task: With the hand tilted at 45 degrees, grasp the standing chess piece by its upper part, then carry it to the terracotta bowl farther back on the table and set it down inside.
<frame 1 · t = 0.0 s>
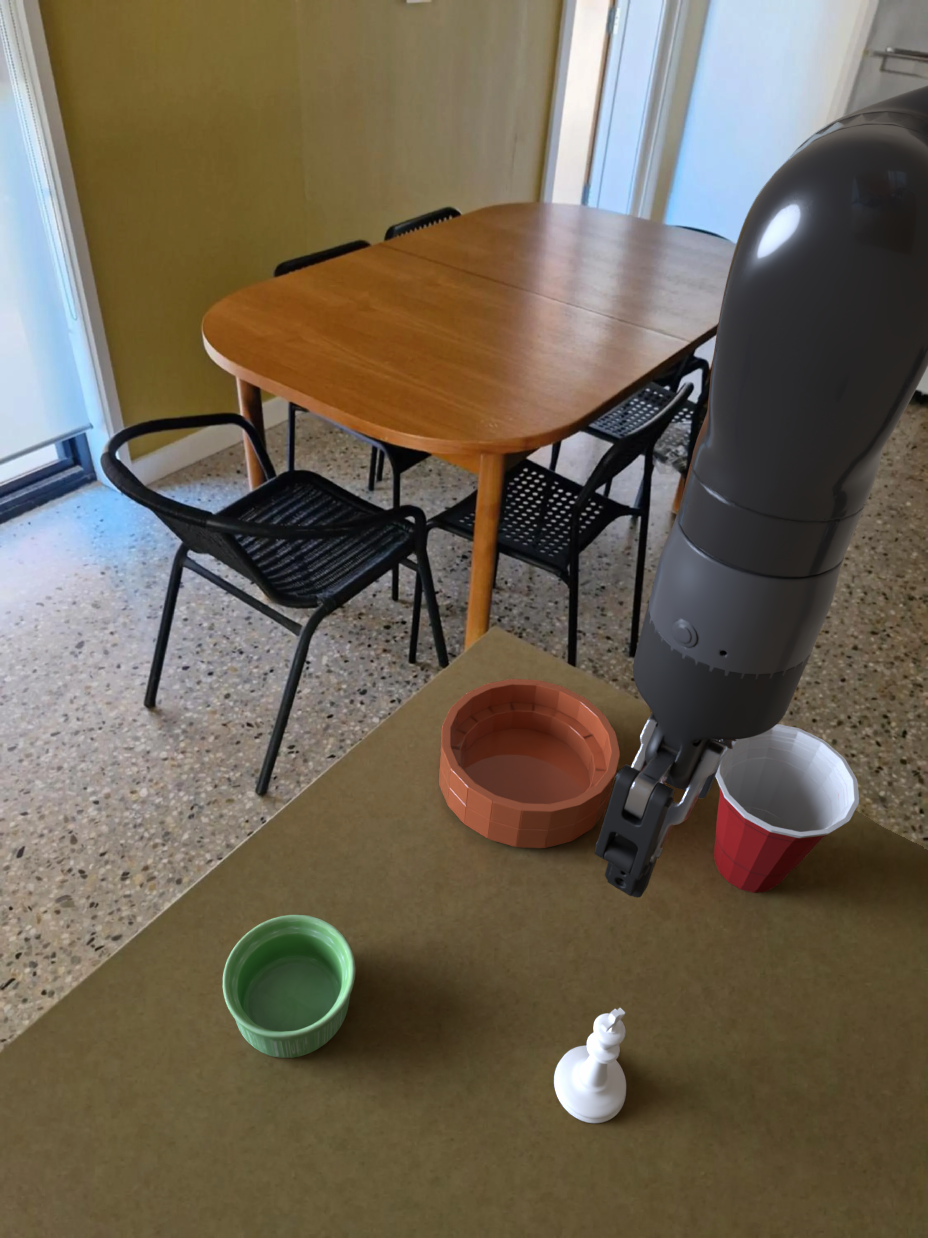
hand: (658, 834, 51), 22 cm above the counter, tool pointing down, fingers open, 8 cm apart
plastic cup: (745, 867, 76), on the counter
ramekin: (293, 1005, 64), on the counter
bowl: (523, 781, 81), on the counter
chess piece: (589, 1086, 61), on the counter
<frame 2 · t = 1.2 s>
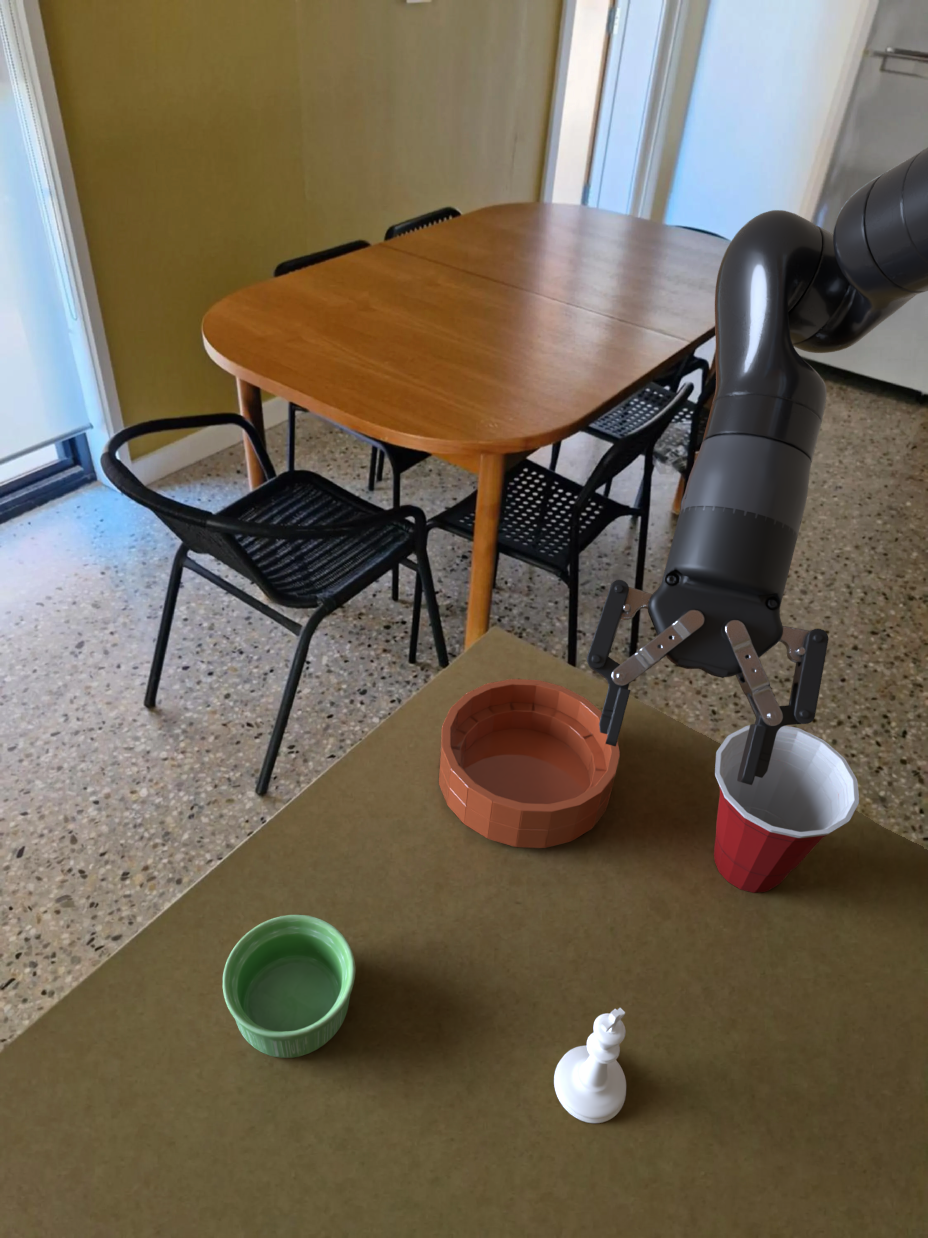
hand: (676, 764, 56), 21 cm above the counter, tool tilted 45°, fingers open, 8 cm apart
nothing on the counter moved.
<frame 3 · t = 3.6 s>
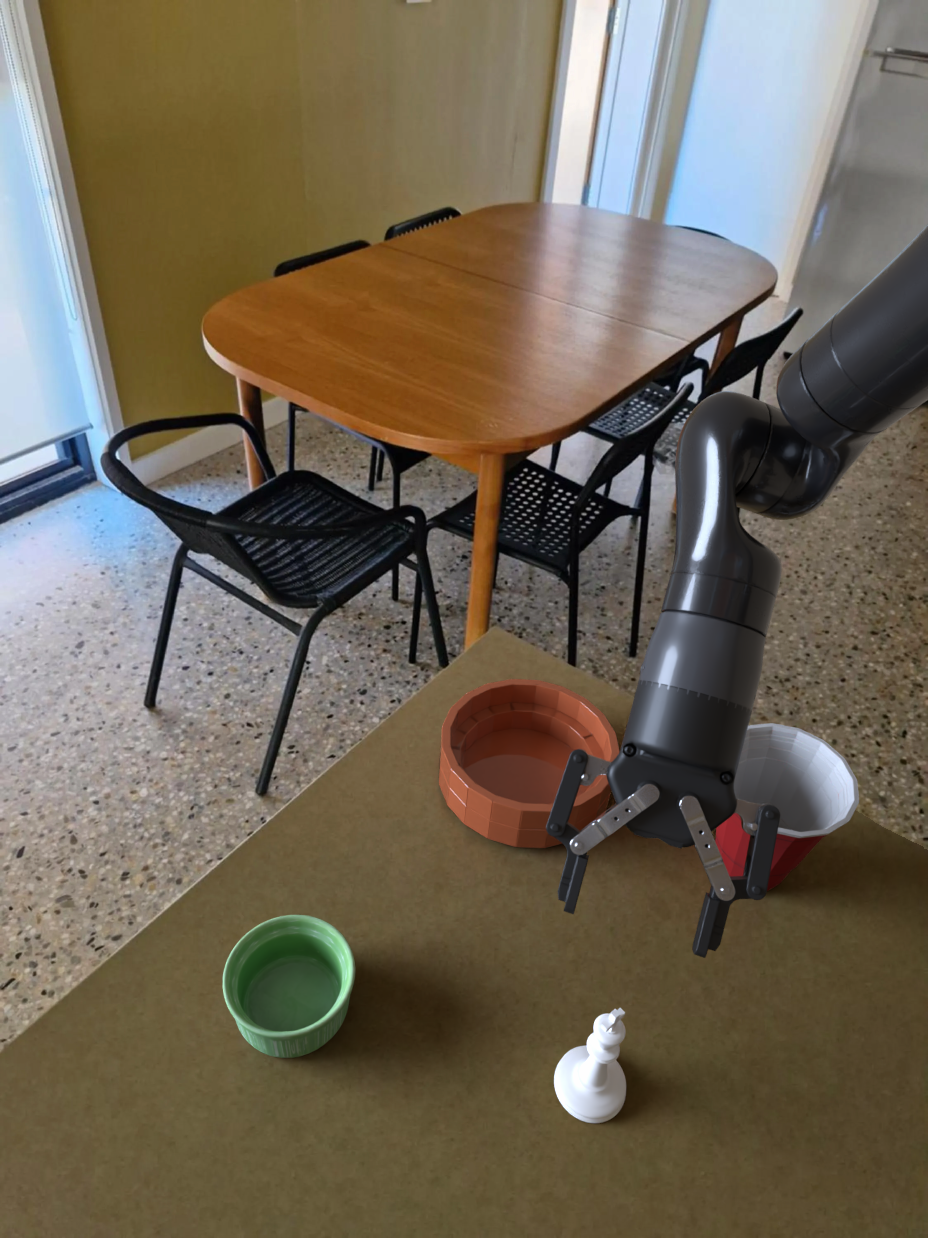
hand: (633, 932, 58), 11 cm above the counter, tool tilted 45°, fingers open, 8 cm apart
nothing on the counter moved.
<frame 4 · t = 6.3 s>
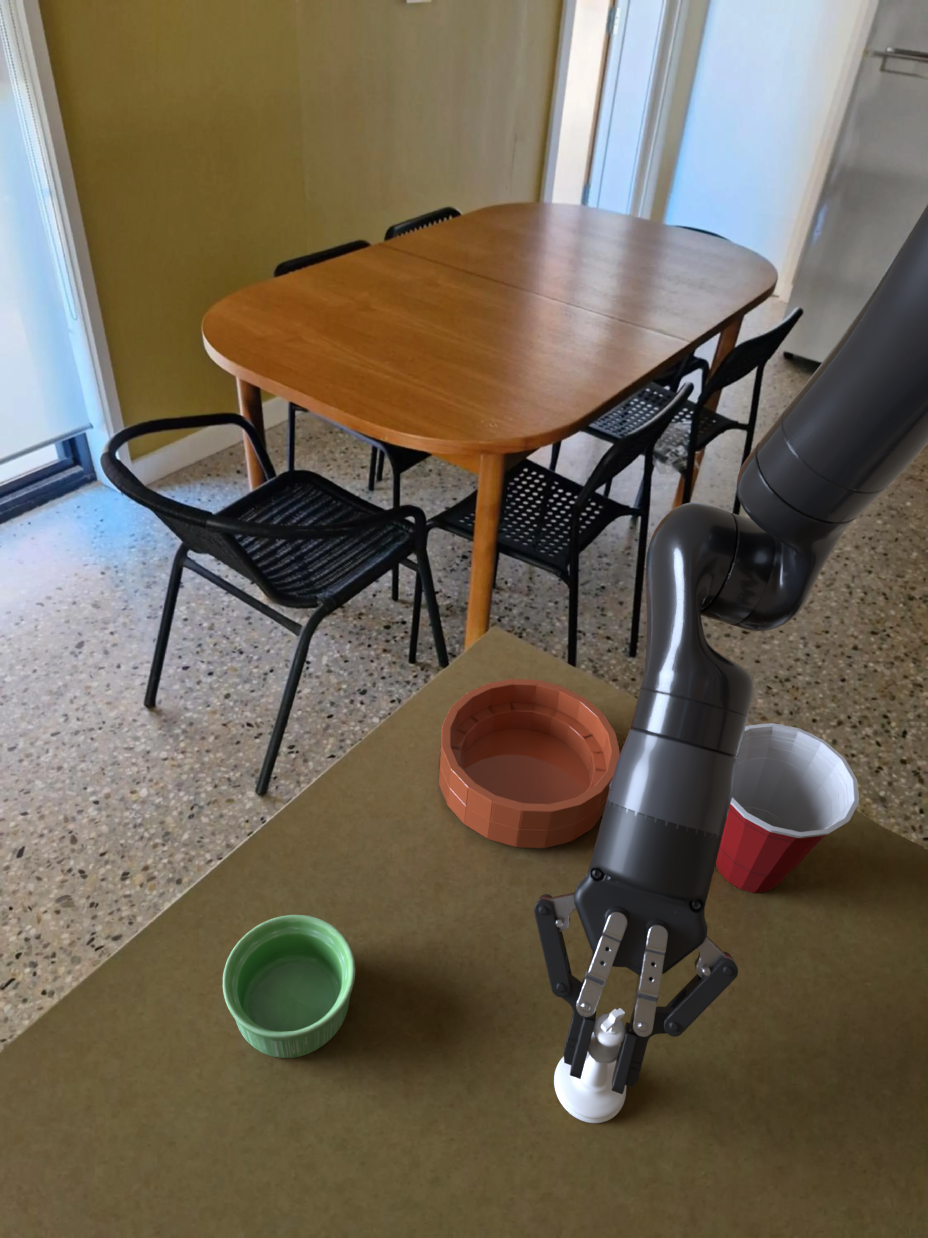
hand: (596, 1079, 56), 5 cm above the counter, tool tilted 45°, fingers closed on chess piece
chess piece: (589, 1086, 61), on the counter, touching gripper
everything else where it was.
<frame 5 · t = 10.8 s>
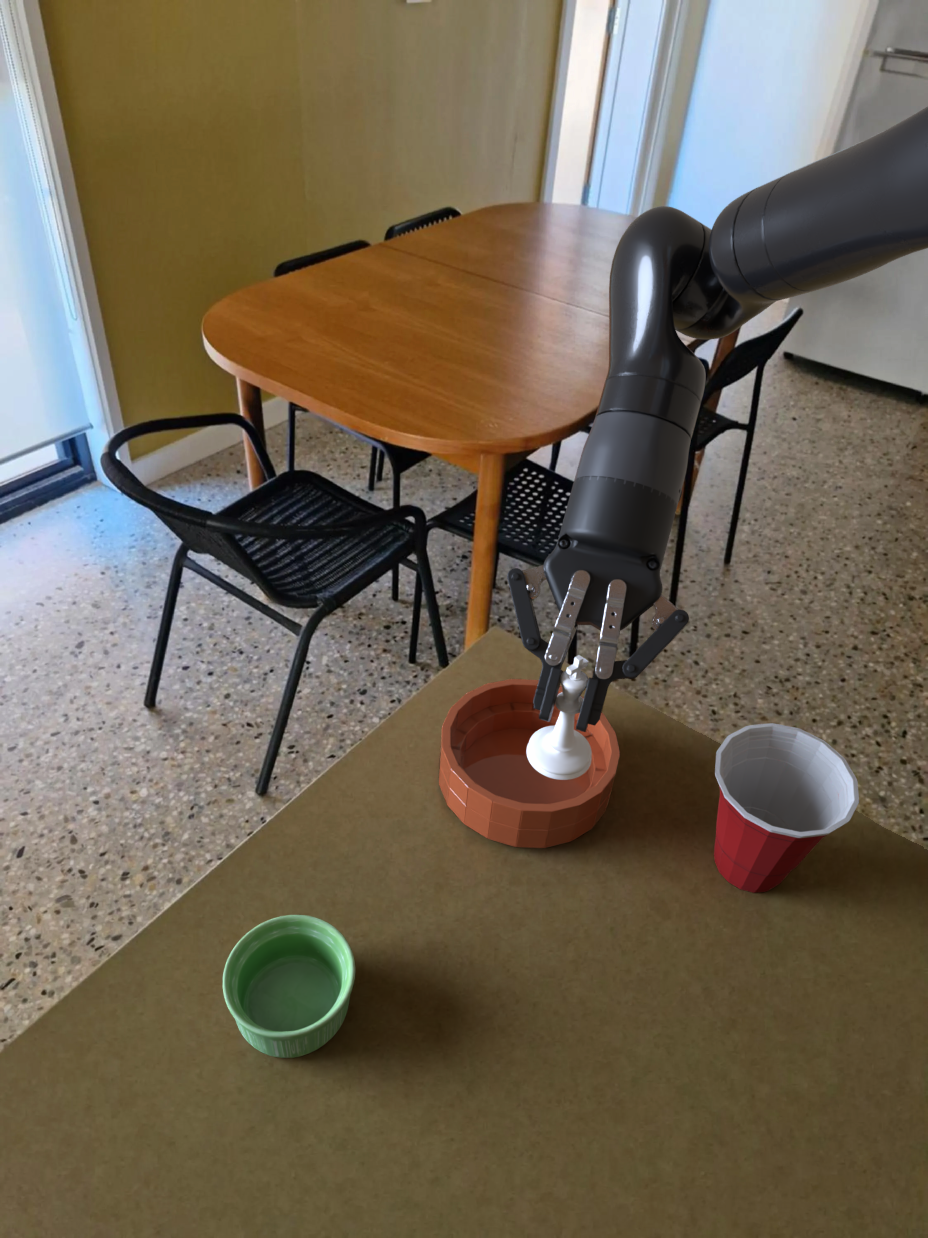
hand: (563, 724, 62), 18 cm above the counter, tool tilted 45°, fingers closed on chess piece
chess piece: (558, 756, 67), point 12 cm above the counter, touching gripper
everything else where it was.
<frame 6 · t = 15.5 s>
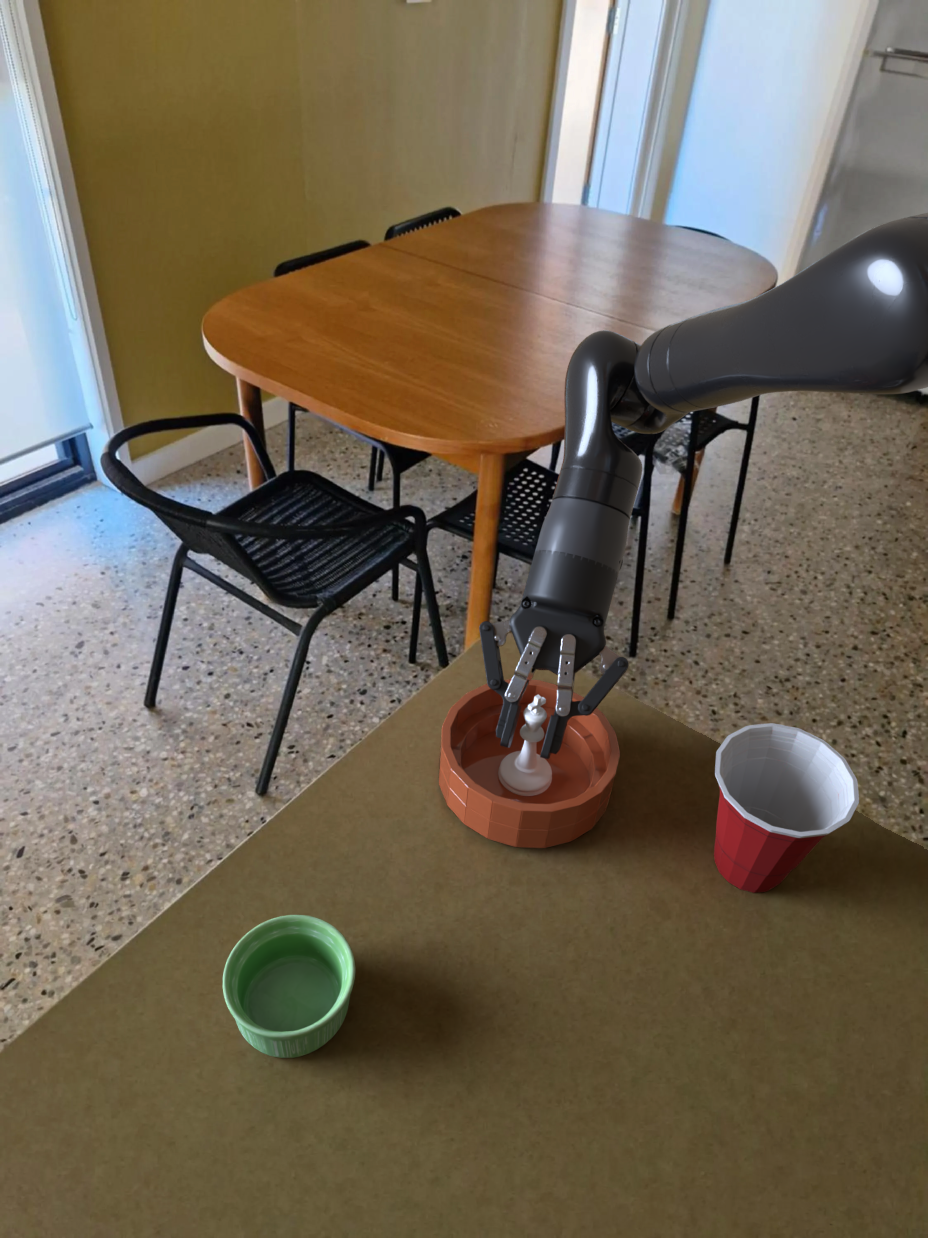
hand: (525, 751, 76), 6 cm above the counter, tool tilted 45°, fingers open, 3 cm apart
chess piece: (524, 776, 81), resting on bowl
everything else where it was.
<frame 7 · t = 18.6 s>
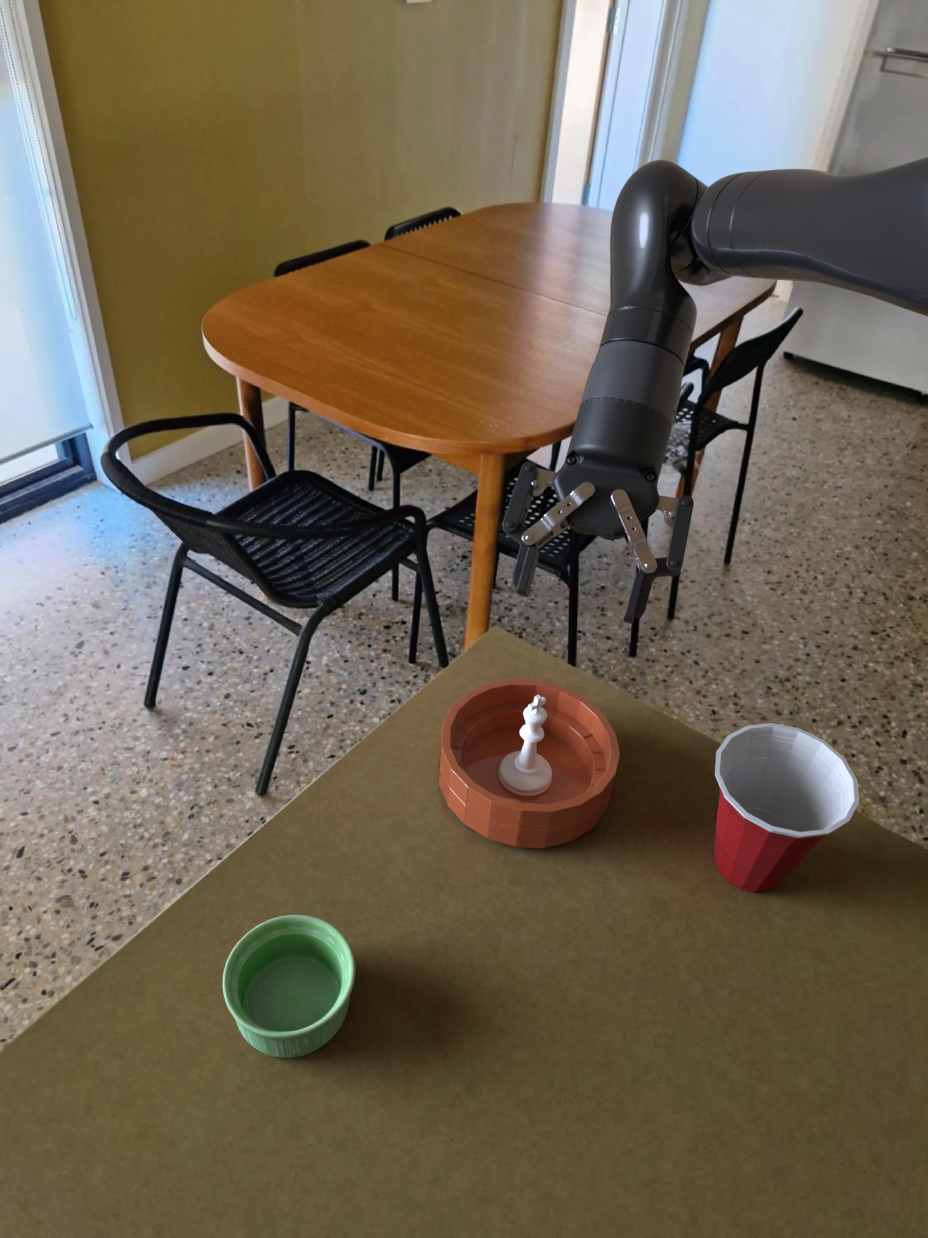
hand: (574, 608, 69), 20 cm above the counter, tool tilted 45°, fingers open, 8 cm apart
nothing on the counter moved.
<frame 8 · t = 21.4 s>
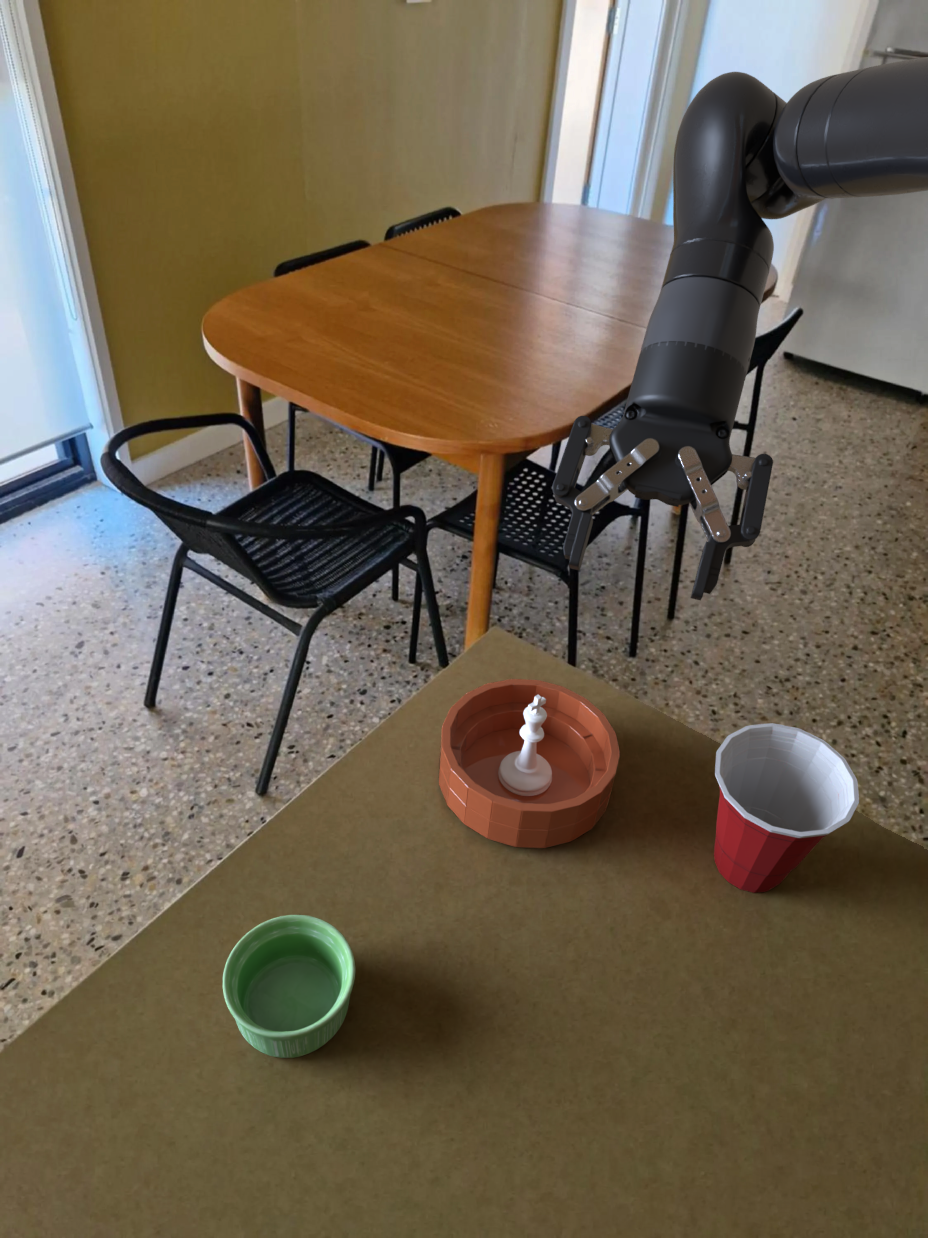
hand: (634, 582, 61), 27 cm above the counter, tool tilted 45°, fingers open, 8 cm apart
nothing on the counter moved.
at the end: chess piece inside the target area in the bowl (0.2 cm from its centre), point 0.4 cm above the bowl's base; the gripper is holding nothing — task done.
